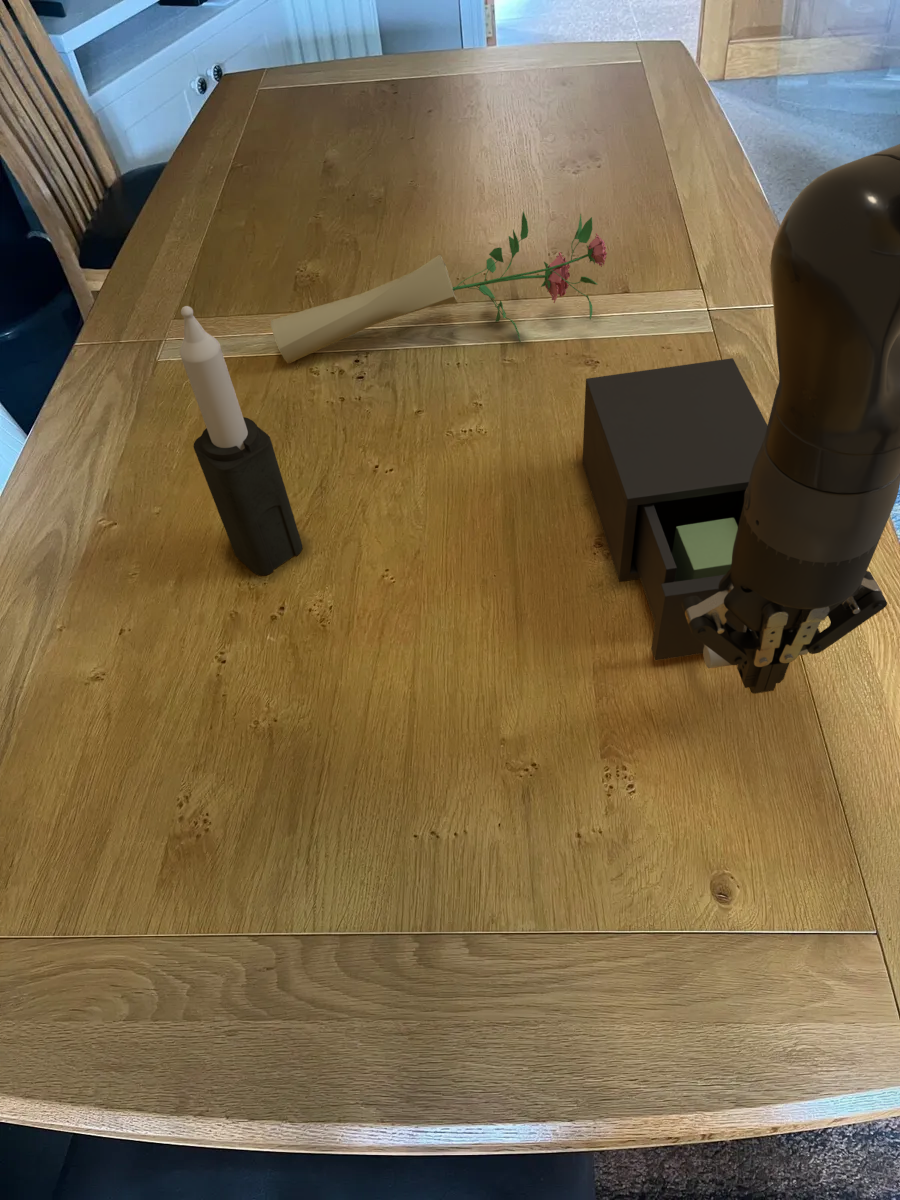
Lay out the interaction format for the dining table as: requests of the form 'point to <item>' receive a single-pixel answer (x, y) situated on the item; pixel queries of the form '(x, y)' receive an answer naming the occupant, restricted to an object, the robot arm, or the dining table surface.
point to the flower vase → (416, 297)
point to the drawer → (660, 571)
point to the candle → (237, 460)
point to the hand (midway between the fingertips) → (757, 681)
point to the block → (704, 549)
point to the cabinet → (665, 442)
